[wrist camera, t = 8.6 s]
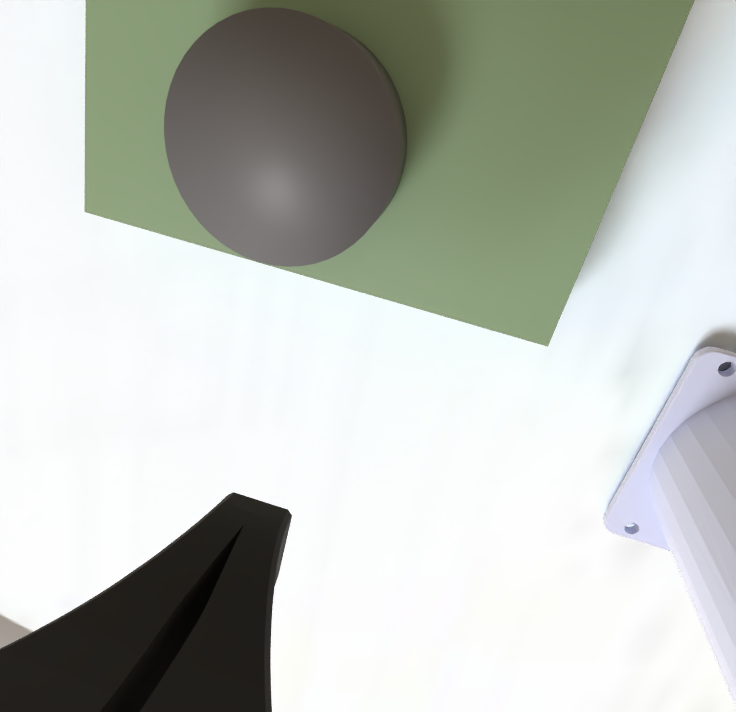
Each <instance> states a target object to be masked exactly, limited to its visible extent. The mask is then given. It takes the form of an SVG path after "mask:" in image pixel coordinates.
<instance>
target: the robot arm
mask: <svg viewBox="0 0 736 712" xmlns="http://www.w3.org/2000/svg"><path fill="white" fill-rule="evenodd" d="M725 362H732V363H731V367H730V368H729V369H728V370H725V371H718V368H719V366H720V365H721V364H722V363H725ZM291 517H292V515H291V514H290V512H289V511H288V510H287V509H284V508H281V507H278V506H274V505H271V504H268V503H265V502H262V501H259V500H256V499H253V498H249V497H246V496H243V495H240V494H237V493H231V494H229V495H228V496H226V497H225V498H224V499H223V500H222V501H221V502H220V503H219V504H218V505H217V506H216V507H214V508H213V509H212V510H211V511H210V512H209V513H208V514H207V515H205V516H204V517H203V518H202V519H201V520H200V521H198V522H197V523H196V524H195V525H194V526H192V527H191V528H190V529H189V530H187V531H186V532H185V533H184V534H182V535H181V536H180V537H179V538H177V539H176V540H175V541H173V542H172V543H171V544H170V545H168V546H167V547H166V548H164V549H163V550H162V551H161V552H159V553H158V554H157V555H155V556H154V557H153V558H151V559H150V560H148V561H147V562H146V563H144V564H143V565H141V566H140V567H138V568H137V569H136V570H134V571H133V572H131V573H130V574H128V575H127V576H125V577H124V578H123V579H121V580H120V581H118V582H117V583H115V584H114V585H112V586H111V587H109V588H108V589H106V590H105V591H103V592H101V593H100V594H98V595H97V596H95V597H93V598H92V599H90V600H89V601H87V602H85V603H84V604H82V605H80V606H79V607H77V608H75V609H73V610H72V611H70V612H68V613H67V614H65V615H63V616H61V617H60V618H58V619H56V620H54V621H52V622H50V623H49V624H47V625H45V626H43V627H41V628H39V629H38V630H36V631H34V632H32V633H30V634H28V635H27V636H25V637H23V638H21V639H19V640H17V641H15V642H13V643H11V644H9V645H7V646H5V647H3V648H1V649H0V712H272V706H271V674H270V647H271V619H272V604H273V594H274V586H275V583H276V580H277V577H278V574H279V570H280V565H281V561H282V557H283V552H284V548H285V543H286V539H287V535H288V530H289V526H290V522H291ZM603 521H604V525H605V528H606V529H607V530H608V531H609V532H611V533H613V534H617V535H620V536H623V537H626V538H630V539H633V540H636V541H639V542H642V543H646V544H649V545H652V546H655V547H659V548H662V549H665V550H668V551H671V552H672V555H673V557H674V560H675V562H676V564H677V567H678V569H679V572H680V574H681V576H682V579H683V581H684V584H685V586H686V588H687V591H688V593H689V596H690V598H691V600H692V603H693V605H694V608H695V610H696V612H697V615H698V617H699V620H700V622H701V625H702V627H703V629H704V632H705V634H706V637H707V639H708V641H709V644H710V646H711V649H712V651H713V653H714V656H715V658H716V661H717V663H718V665H719V668H720V670H721V673H722V675H723V677H724V680H725V682H726V685H727V687H728V689H729V692H730V694H731V697H732V699H733V701H734V704H735V706H736V353H735V352H731V351H728V350H724V349H721V348H717V347H711V346H708V347H704V348H701V349H699V350H698V351H696V352H695V354H694V355H693V356H692V358H691V360H690V361H689V363H688V365H687V367H686V369H685V370H684V372H683V374H682V376H681V378H680V379H679V381H678V383H677V385H676V386H675V388H674V390H673V392H672V394H671V395H670V397H669V399H668V401H667V403H666V404H665V406H664V408H663V410H662V412H661V413H660V415H659V417H658V419H657V420H656V422H655V424H654V426H653V428H652V429H651V431H650V433H649V435H648V437H647V438H646V440H645V442H644V444H643V445H642V447H641V449H640V451H639V453H638V454H637V456H636V458H635V460H634V462H633V463H632V465H631V467H630V469H629V471H628V472H627V474H626V476H625V478H624V479H623V481H622V483H621V485H620V487H619V488H618V490H617V492H616V494H615V496H614V497H613V499H612V501H611V503H610V504H609V506H608V508H607V510H606V512H605V513H604V516H603ZM629 523H635V525H634V526H632V527H626V525H627V524H629Z"/></svg>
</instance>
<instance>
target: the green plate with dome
mask: <svg viewBox="0 0 736 712" xmlns="http://www.w3.org/2000/svg"><path fill="white" fill-rule="evenodd" d="M693 3H694V0H86V62H85V212H87V213H91V214H94V215H97V216H101V217H104V218H108V219H111V220H115V221H118V222H121V223H125V224H128V225H132V226H135V227H139V228H142V229H146V230H149V231H152V232H156V233H159V234H163V235H166V236H170V237H173V238H177V239H180V240H183V241H187V242H190V243H194V244H197V245H201V246H204V247H207V248H211V249H214V250H218V251H221V252H225V253H228V254H232V255H235V256H238V257H242V258H245V259H249V260H252V261H256V262H259V263H263V264H266V265H269V266H273V267H276V268H280V269H283V270H287V271H290V272H293V273H297V274H300V275H304V276H307V277H311V278H314V279H318V280H321V281H324V282H328V283H331V284H335V285H338V286H342V287H345V288H349V289H352V290H355V291H359V292H362V293H366V294H369V295H373V296H376V297H379V298H383V299H386V300H390V301H393V302H397V303H400V304H404V305H407V306H410V307H414V308H417V309H421V310H424V311H428V312H431V313H435V314H438V315H441V316H445V317H448V318H452V319H455V320H459V321H462V322H465V323H469V324H472V325H476V326H479V327H483V328H486V329H490V330H493V331H496V332H500V333H503V334H507V335H510V336H514V337H517V338H521V339H524V340H527V341H531V342H534V343H538V344H541V345H545V346H548V345H549V342H550V340H551V338H552V335H553V333H554V331H555V328H556V326H557V324H558V321H559V319H560V316H561V314H562V312H563V309H564V307H565V305H566V302H567V300H568V298H569V295H570V293H571V290H572V288H573V286H574V283H575V281H576V279H577V276H578V274H579V272H580V269H581V267H582V265H583V262H584V260H585V257H586V255H587V253H588V250H589V248H590V246H591V243H592V241H593V239H594V236H595V234H596V232H597V229H598V227H599V224H600V222H601V220H602V217H603V215H604V213H605V210H606V208H607V206H608V203H609V201H610V198H611V196H612V194H613V191H614V189H615V187H616V184H617V182H618V180H619V177H620V175H621V173H622V170H623V168H624V165H625V163H626V161H627V158H628V156H629V154H630V151H631V149H632V147H633V144H634V142H635V140H636V137H637V135H638V132H639V130H640V128H641V125H642V123H643V121H644V118H645V116H646V114H647V111H648V109H649V106H650V104H651V102H652V99H653V97H654V95H655V92H656V90H657V88H658V85H659V83H660V81H661V78H662V76H663V73H664V71H665V69H666V66H667V64H668V62H669V59H670V57H671V55H672V52H673V50H674V48H675V45H676V43H677V40H678V38H679V36H680V33H681V31H682V29H683V26H684V24H685V22H686V19H687V17H688V14H689V12H690V10H691V7H692V5H693Z"/></svg>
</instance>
